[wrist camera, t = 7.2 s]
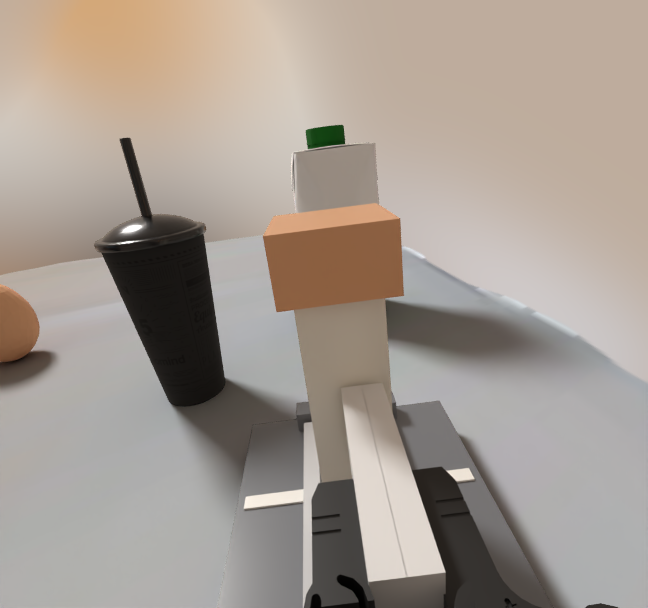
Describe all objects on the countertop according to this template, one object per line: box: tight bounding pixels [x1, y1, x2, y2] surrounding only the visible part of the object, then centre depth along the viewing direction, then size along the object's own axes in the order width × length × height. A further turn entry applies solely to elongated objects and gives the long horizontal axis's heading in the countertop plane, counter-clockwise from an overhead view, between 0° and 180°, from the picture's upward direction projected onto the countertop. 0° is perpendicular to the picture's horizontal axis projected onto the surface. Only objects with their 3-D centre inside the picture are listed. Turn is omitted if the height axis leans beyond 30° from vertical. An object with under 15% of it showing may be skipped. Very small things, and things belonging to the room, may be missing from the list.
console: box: [217, 391, 553, 608], centre depth 14 cm, size 22×12×3 cm, turn 3°
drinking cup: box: [94, 138, 225, 406], centre depth 29 cm, size 8×8×20 cm
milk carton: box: [291, 125, 379, 213], centre depth 41 cm, size 9×9×20 cm
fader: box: [263, 203, 404, 482], centre depth 15 cm, size 4×4×13 cm
